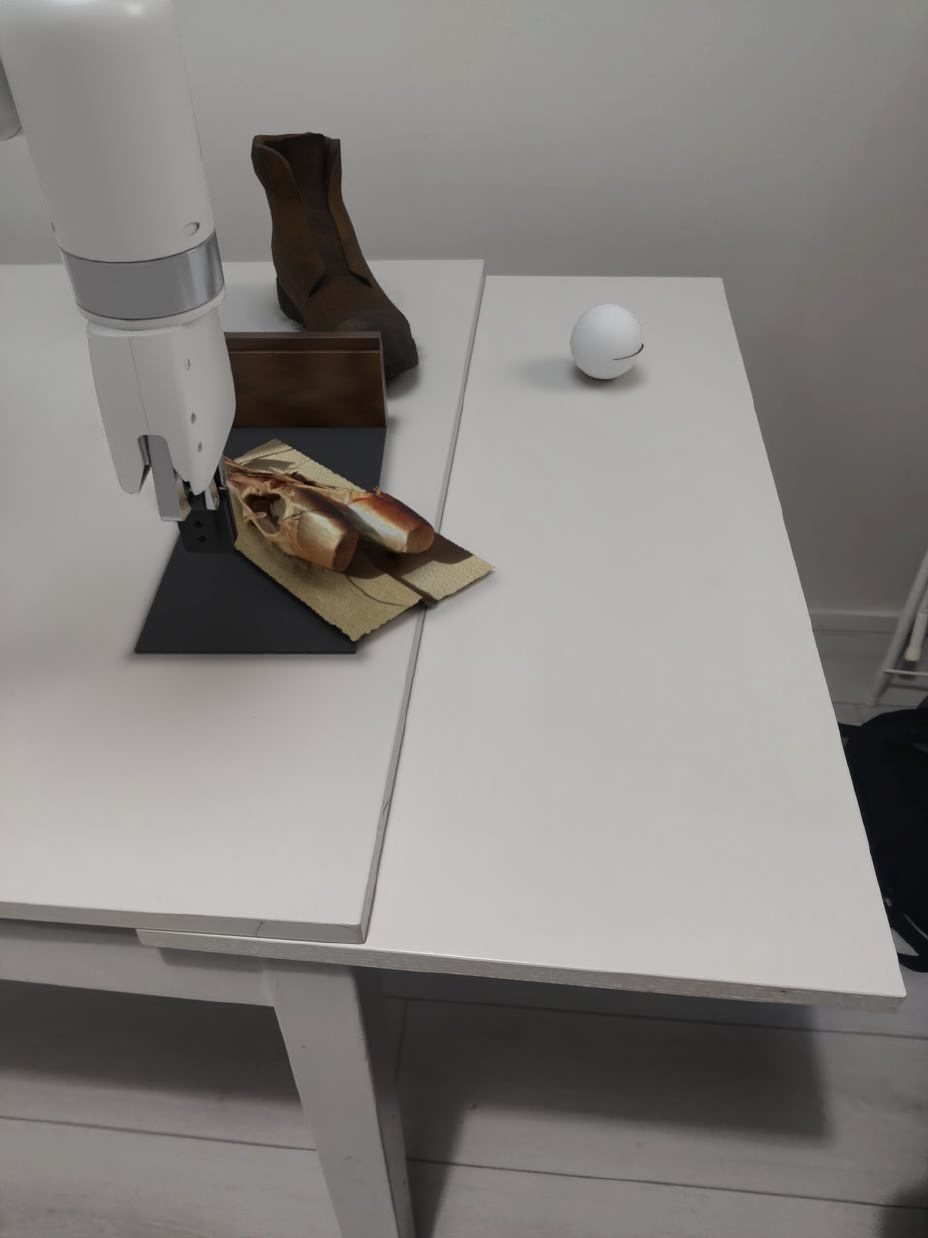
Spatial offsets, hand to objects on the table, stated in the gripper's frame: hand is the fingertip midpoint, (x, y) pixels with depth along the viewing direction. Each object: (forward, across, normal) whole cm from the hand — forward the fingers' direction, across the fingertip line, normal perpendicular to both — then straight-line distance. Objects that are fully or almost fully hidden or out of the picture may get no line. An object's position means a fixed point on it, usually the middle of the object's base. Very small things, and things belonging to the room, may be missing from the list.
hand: (212, 544), depth 57 cm
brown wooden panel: (+10, -30, +1) cm, 31 cm away
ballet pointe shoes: (+9, -12, +4) cm, 16 cm away
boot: (+10, -48, +3) cm, 49 cm away
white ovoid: (+9, -40, +32) cm, 52 cm away
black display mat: (+9, -14, +1) cm, 17 cm away
